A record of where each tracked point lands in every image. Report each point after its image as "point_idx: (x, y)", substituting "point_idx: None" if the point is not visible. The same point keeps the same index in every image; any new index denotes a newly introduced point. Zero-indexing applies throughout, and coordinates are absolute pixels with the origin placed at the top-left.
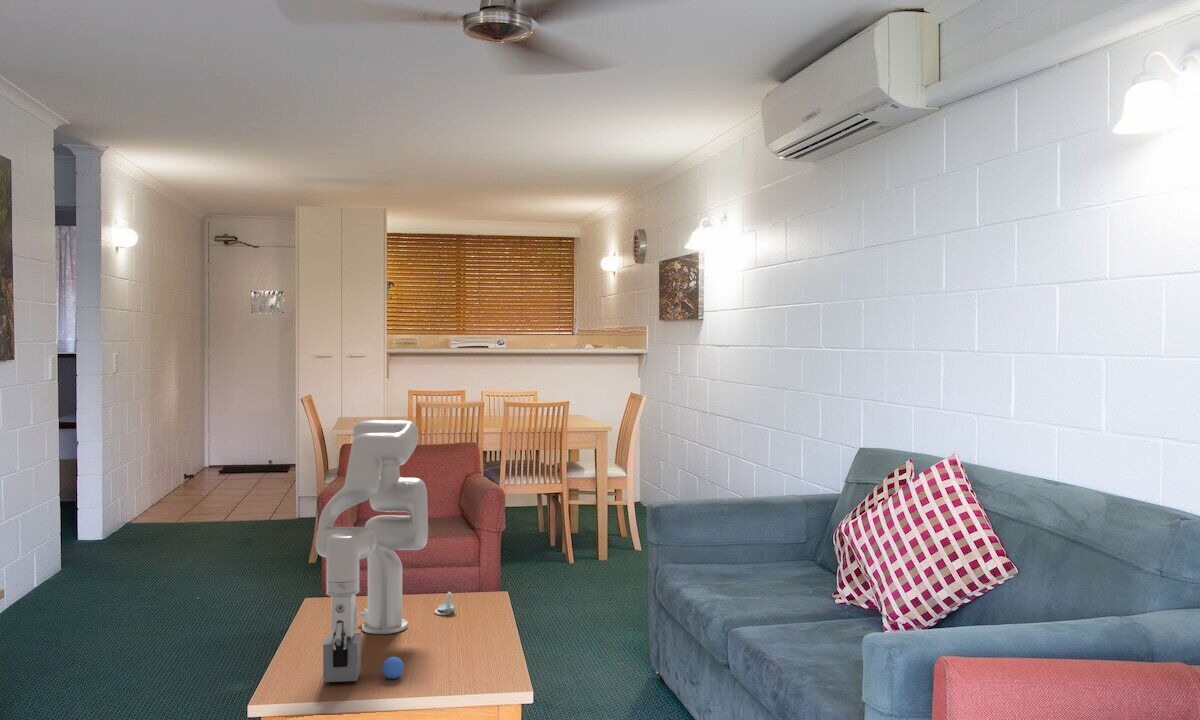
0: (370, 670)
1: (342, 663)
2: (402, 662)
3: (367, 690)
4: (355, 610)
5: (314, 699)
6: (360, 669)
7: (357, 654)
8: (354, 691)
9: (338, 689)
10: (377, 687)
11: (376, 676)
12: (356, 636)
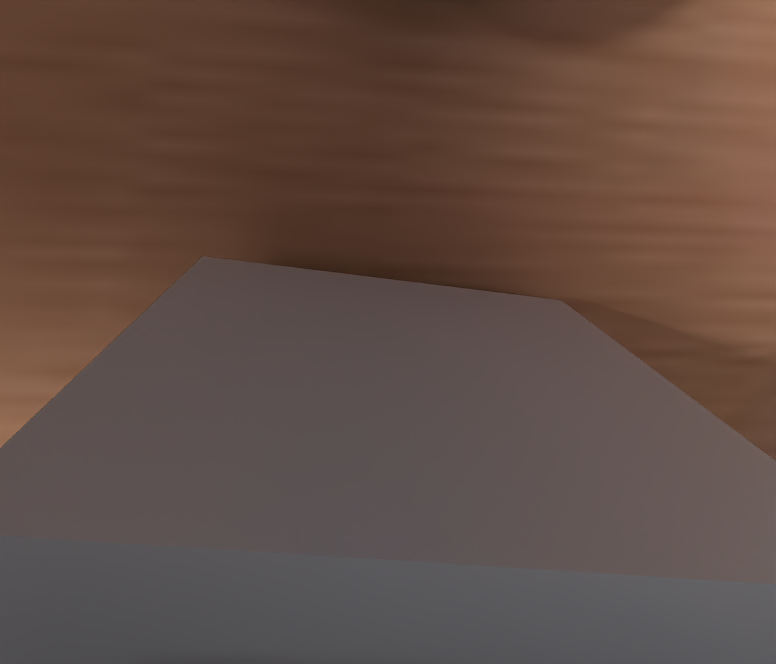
0: (106, 132)
1: None
2: None
3: (713, 194)
4: None
5: None
6: (233, 261)
7: (726, 432)
8: (685, 313)
9: None
10: (675, 85)
11: (329, 73)
12: (307, 641)
